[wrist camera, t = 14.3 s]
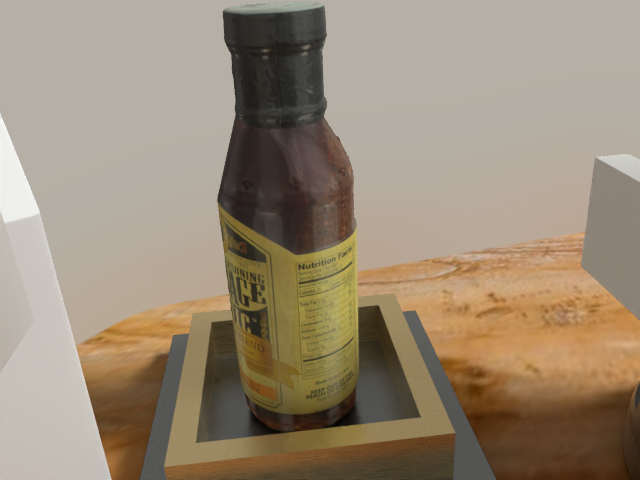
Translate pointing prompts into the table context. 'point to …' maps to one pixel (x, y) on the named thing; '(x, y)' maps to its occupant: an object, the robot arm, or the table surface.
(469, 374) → the table surface
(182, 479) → the plate
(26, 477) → the milk carton
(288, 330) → the sauce bottle
